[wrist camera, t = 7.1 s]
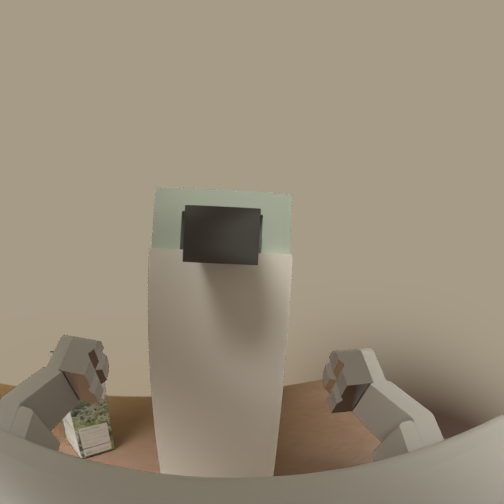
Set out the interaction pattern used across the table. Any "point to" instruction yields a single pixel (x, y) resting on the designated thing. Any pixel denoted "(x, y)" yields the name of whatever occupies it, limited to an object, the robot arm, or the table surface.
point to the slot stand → (218, 341)
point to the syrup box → (89, 427)
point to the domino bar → (221, 235)
